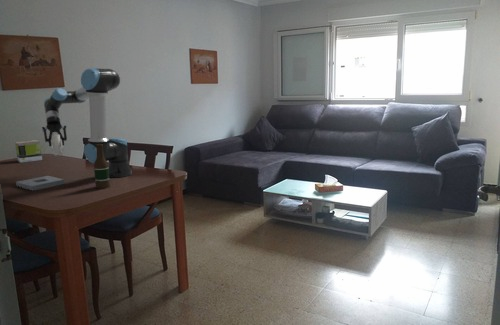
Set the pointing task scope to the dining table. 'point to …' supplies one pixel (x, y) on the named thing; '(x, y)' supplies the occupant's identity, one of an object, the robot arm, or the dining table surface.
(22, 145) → the tea box
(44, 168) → the dining table surface
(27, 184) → the socket plate
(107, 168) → the beer bottle
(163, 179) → the dining table surface
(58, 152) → the peg
